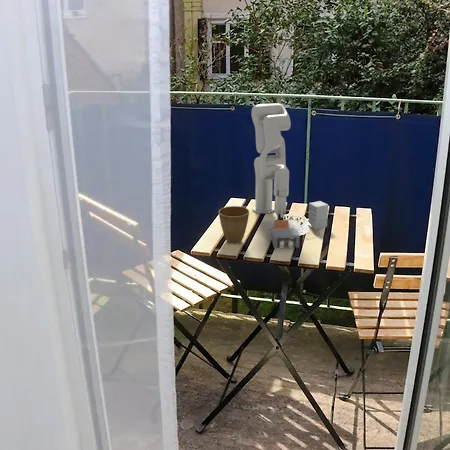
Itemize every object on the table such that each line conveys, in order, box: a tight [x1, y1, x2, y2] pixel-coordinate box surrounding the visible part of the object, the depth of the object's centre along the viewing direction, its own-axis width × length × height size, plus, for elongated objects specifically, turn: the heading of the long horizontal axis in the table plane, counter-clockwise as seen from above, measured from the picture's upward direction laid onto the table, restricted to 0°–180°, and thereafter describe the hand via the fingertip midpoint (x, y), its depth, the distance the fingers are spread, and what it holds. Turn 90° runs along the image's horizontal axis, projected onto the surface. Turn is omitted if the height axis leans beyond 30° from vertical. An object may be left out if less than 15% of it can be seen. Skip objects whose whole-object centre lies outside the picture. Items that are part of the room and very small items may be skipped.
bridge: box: [269, 228, 300, 249], centre depth 278 cm, size 18×12×6 cm
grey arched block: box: [273, 219, 292, 241], centre depth 285 cm, size 12×7×6 cm, turn 2°
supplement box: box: [307, 200, 329, 230], centre depth 295 cm, size 7×7×13 cm
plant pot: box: [218, 205, 250, 245], centre depth 276 cm, size 15×15×16 cm
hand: (280, 225), depth 295 cm, fingers closed
